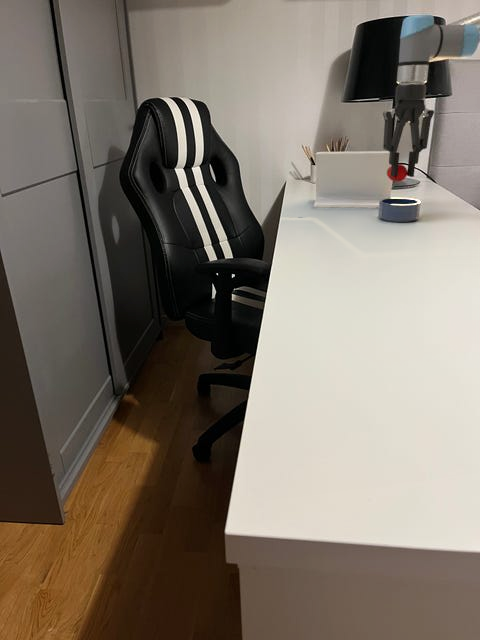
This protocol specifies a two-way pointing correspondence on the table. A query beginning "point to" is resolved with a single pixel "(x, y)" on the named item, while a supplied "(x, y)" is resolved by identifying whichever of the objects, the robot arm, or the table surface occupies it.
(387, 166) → the tablet stand
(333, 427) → the table surface
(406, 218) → the bowl
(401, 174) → the strawberry
